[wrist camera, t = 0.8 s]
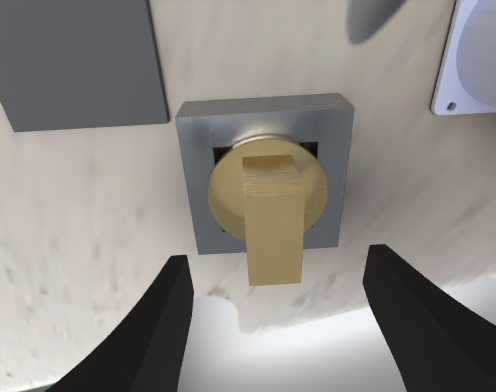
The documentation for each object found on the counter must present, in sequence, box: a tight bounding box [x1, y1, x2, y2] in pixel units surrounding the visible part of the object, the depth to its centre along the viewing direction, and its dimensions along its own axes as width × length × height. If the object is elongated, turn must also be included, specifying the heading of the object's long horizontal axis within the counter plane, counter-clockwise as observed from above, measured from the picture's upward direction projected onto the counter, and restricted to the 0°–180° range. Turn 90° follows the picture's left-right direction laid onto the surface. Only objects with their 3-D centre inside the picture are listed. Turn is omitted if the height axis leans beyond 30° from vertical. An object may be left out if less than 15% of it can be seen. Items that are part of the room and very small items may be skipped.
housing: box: [175, 93, 355, 255], centre depth 19 cm, size 9×9×3 cm
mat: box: [0, 0, 170, 132], centre depth 16 cm, size 9×9×1 cm
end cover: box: [208, 135, 328, 286], centre depth 17 cm, size 7×7×8 cm
